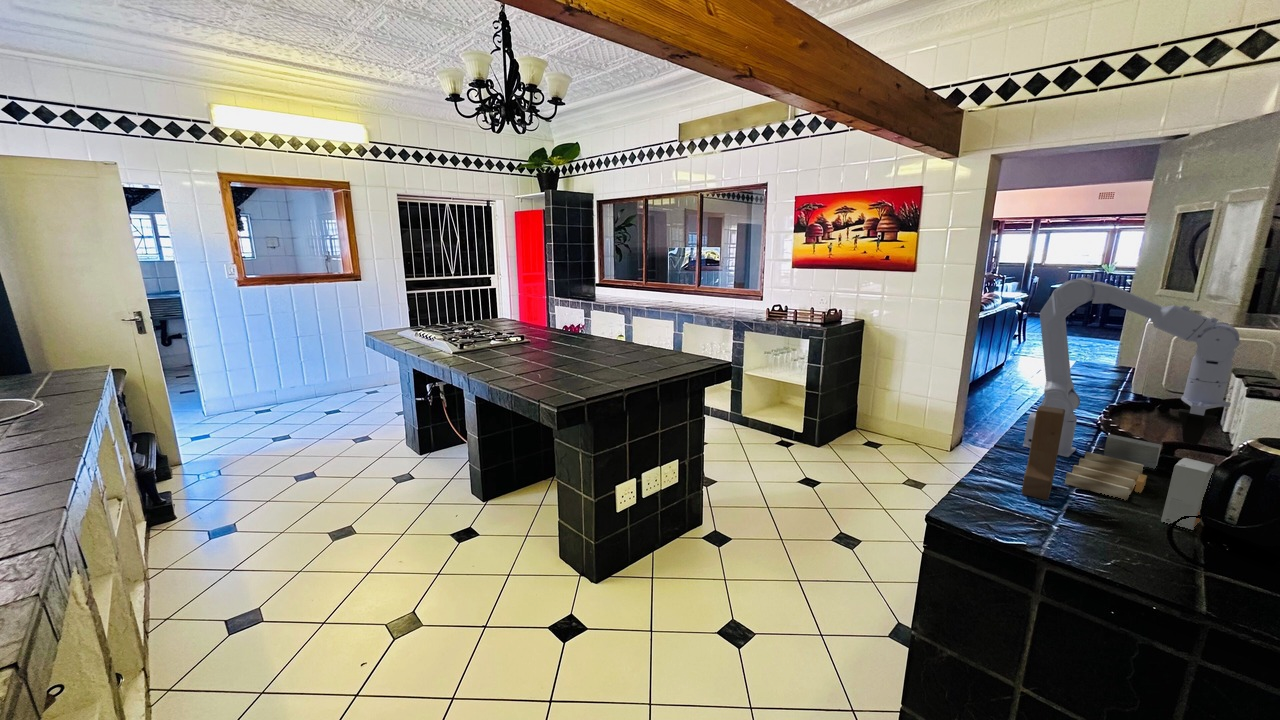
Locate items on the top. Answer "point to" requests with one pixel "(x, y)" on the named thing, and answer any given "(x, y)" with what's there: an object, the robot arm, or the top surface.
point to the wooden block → (1043, 452)
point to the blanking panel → (1132, 450)
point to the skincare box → (1187, 492)
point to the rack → (1107, 475)
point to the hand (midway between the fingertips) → (1192, 438)
